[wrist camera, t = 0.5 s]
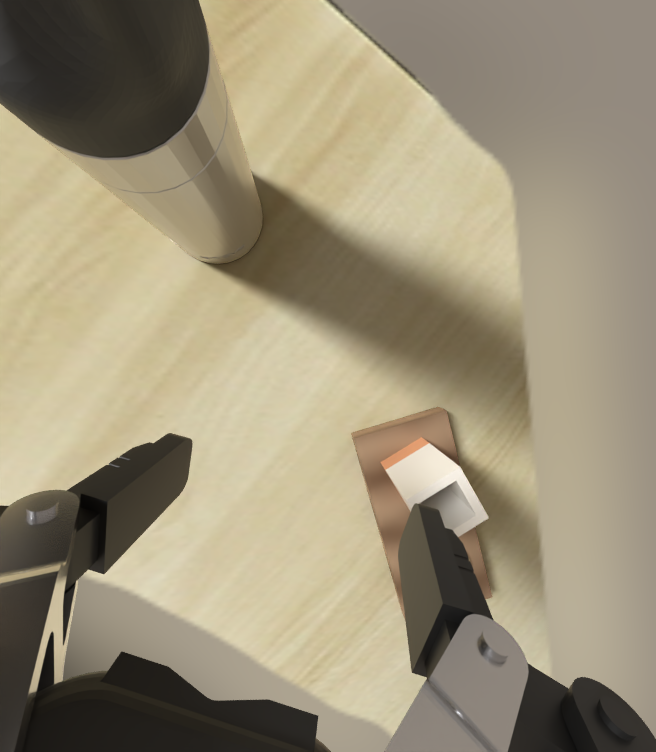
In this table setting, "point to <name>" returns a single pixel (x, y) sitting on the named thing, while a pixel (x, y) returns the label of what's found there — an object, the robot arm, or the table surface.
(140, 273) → the table surface
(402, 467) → the sleeve
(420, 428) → the pin board
